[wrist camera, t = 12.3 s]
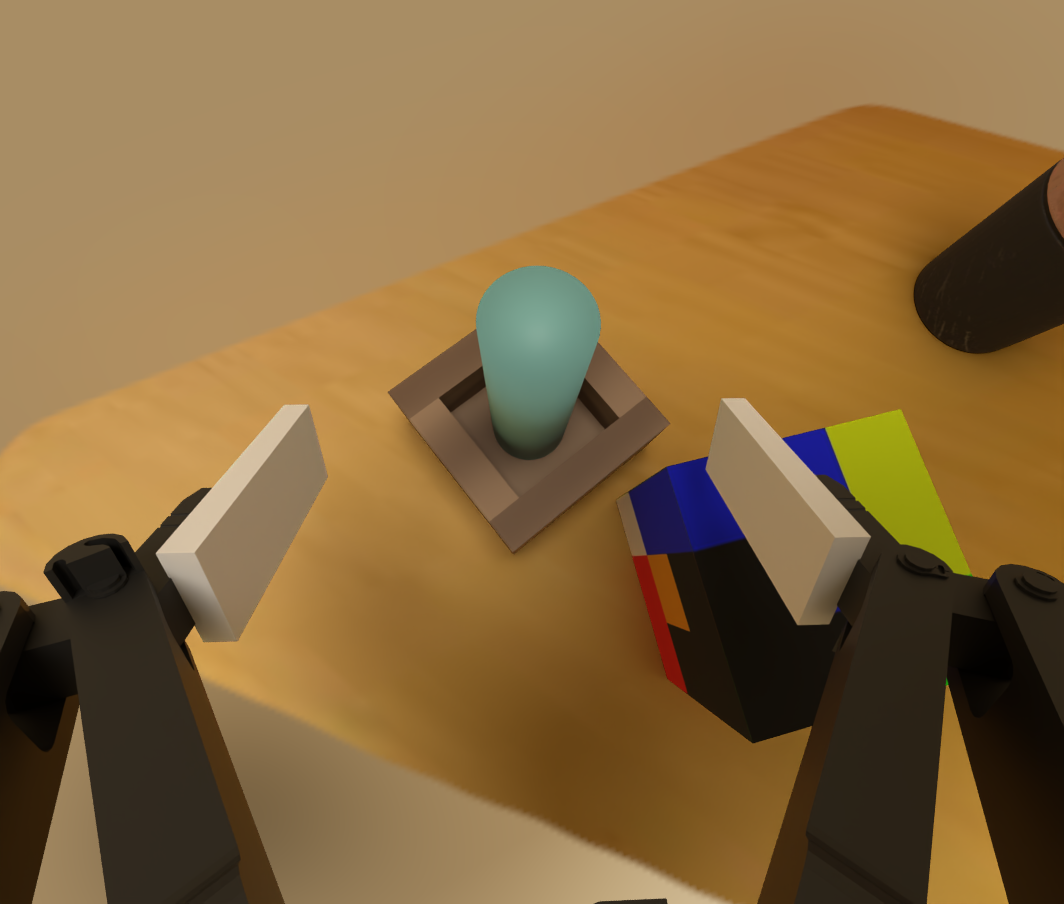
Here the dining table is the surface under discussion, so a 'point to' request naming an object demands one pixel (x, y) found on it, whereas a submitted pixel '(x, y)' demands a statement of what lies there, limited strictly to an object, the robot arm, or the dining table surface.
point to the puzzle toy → (765, 574)
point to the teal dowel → (535, 355)
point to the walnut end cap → (515, 484)
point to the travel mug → (1001, 273)
